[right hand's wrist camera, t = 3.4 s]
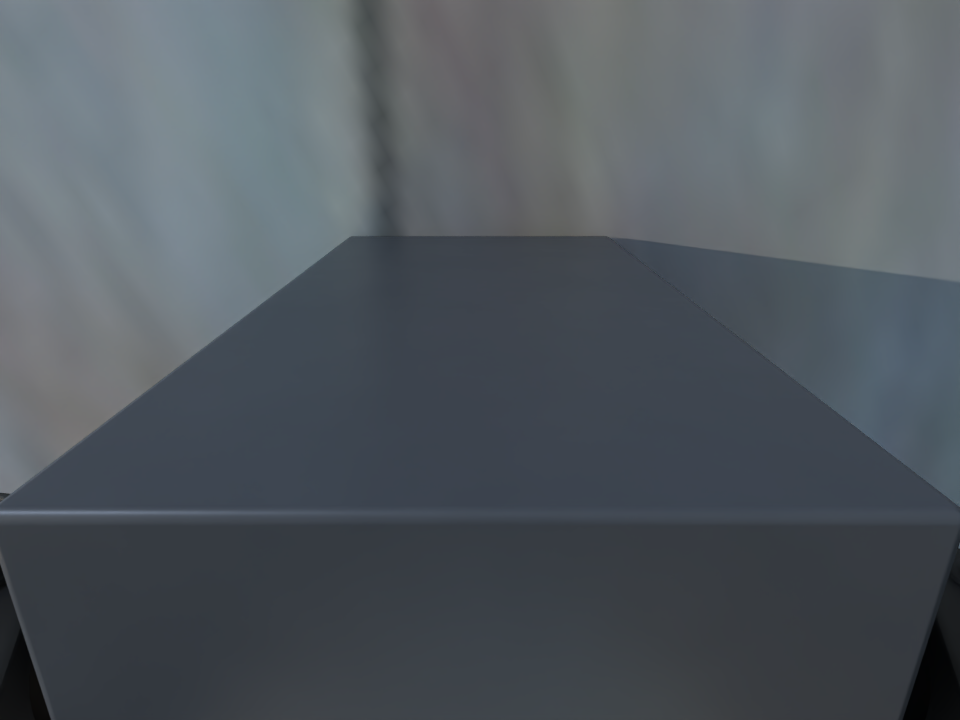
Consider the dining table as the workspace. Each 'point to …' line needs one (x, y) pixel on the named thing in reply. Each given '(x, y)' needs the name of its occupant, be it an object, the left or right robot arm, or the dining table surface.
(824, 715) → the box
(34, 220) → the dining table surface
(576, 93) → the dining table surface
